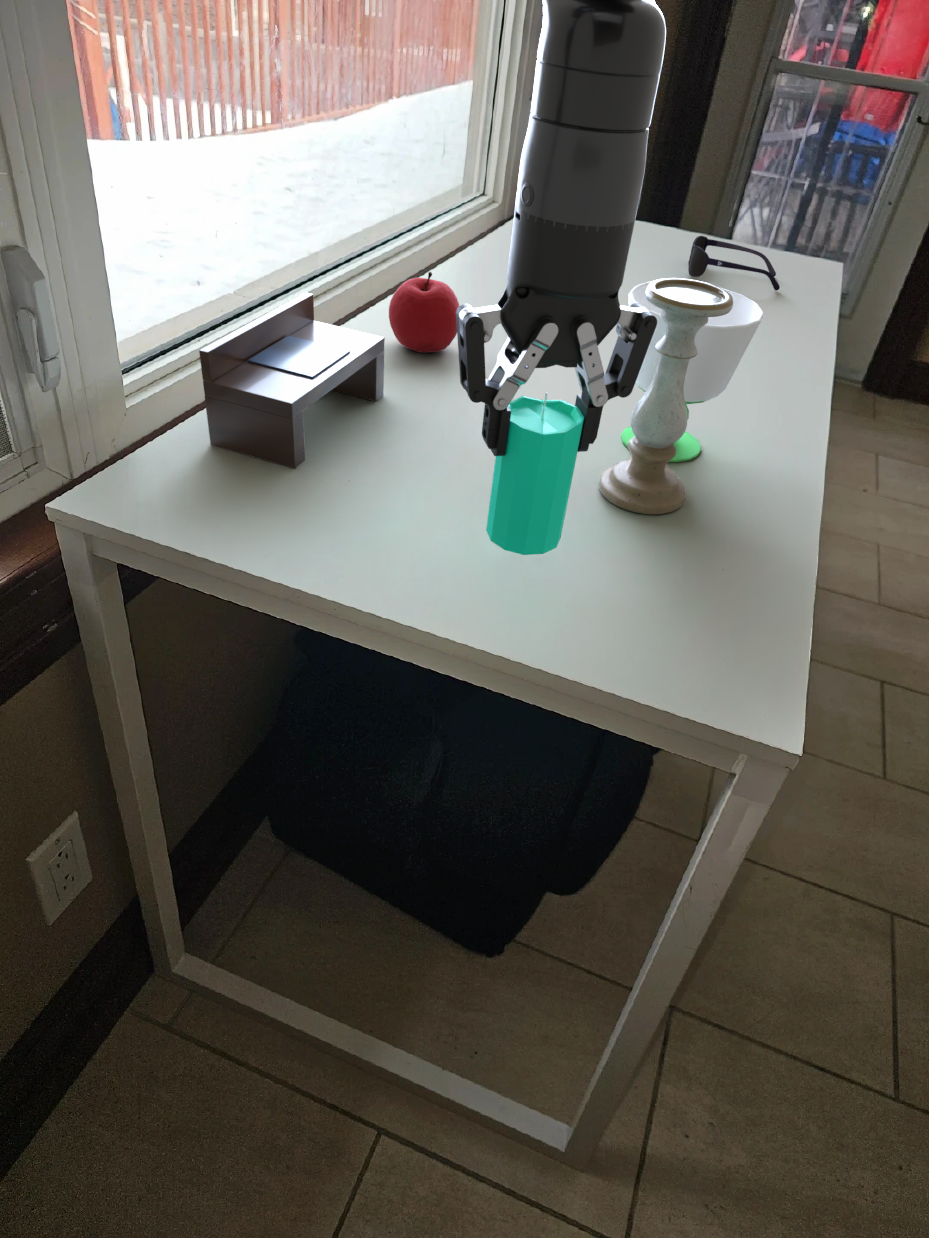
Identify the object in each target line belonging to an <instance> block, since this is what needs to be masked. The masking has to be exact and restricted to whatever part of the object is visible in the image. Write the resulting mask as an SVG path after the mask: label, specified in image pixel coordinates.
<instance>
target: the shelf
mask: <svg viewBox="0 0 929 1238" xmlns="http://www.w3.org/2000/svg"><path fill="white" fill-rule="evenodd" d="M314 301H315V300H314V294H313V293H309V292H304V293H302V294H301V295H299V296H297V297H295V298H293V299H291V300H290V301H287V302H286V303H284V304H281V305H280V306H278V307H276V308H274V309H273V310H271V311H269V312H267V313H265V314H263V315H262V316H260V317H258V318H256V319H254V320H253V321H251V322H249V323H246V324H245V325H243V326H241V327H239V328H237V329H236V330H234V331H232V332H231V333H228V334H227V335H225V336H223V337H221V338H220V339H217V340H215V341H214V342H212V343H210V344H208V345H206V346H204V347H202V348H201V349H199V351H198V353H199V363H200V368H201V375H202V376H201V377H202V386H203V394H204V401H205V402H204V403H205V410H206V411H205V413H206V419H207V427H208V436H209V443H210V445H211V446H214V447H218V448H221V449H225V450H229V451H232V452H235V453H239V454H242V455H245V456H249V457H252V458H257V459H260V460H263V461H266V462H270V463H274V464H277V465H280V466H284V467H288V468H290V469H297V468H298V467H299V466H301V465H302V464H303V463H304V462H306V445H305V443H306V442H305V422H304V421H305V420H304V411H305V410H307V409H308V408H310V407H311V406H312V405H314V404H315V403H316V402H317V401H319V400H320V399H321V398H323V397H324V396H326V395H327V394H329V392H331V391H334V392H337V393H341V394H345V395H348V396H349V395H350V396H352V397H357V398H360V399H364V400H368V401H372V402H378V401H379V400H380V399H381V398H382V397H384V389H385V387H384V386H385V385H384V384H385V383H384V382H385V337H384V336H381V335H376V334H372V333H368V332H363V331H360V330H355V329H351V328H347V327H342V326H338V325H334V324H330V323H326V322H321V321H318V320H315V307H314V305H315V304H314Z"/></svg>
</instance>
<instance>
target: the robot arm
mask: <svg viewBox="0 0 929 1238" xmlns="http://www.w3.org/2000/svg"><path fill="white" fill-rule="evenodd" d="M542 5H543V6H542V15H543V16H542V28H541V32H540V37H539V42H538V48H537V55H536V58H537V60H536V63H535V72H534V81H533V90H532V97H531V106H530V114H529V119H528V126H527V130H526V135H525V138H524V141H523V146H522V151H521V155H520V162H519V170H518V178H517V186H516V187H517V188H516V193H515V194H516V196H515V203H514V213H513V220H512V227H511V238H510V244H509V245H510V246H509V254H508V263H507V271H506V272H507V273H506V285H505V288H504V291H503V293H502V295H501V296H500V298H499V299H498V301H497V303H496V304H494V305H486V306H480V307H473V306H472V305H471V304H469V303H462V304H459V307H458V308H457V311H456V321H457V334H456V338H457V350H458V351H457V352H458V353H457V354H458V366H459V367H458V368H459V382H460V385H461V387H462V388H463V389H464V390H465V392H466V393H467V396H468V398H469V400H470V401H471V402H472V403H475V404H478V403H483V404H484V409H483V417H482V427H481V436H482V437H481V438H482V440H483V441H484V443H485V445H486V446H487V448H488V450H490V451H491V453H492V454H493V456H494V457H496V456H505V454H506V447H507V439H508V432H509V425H510V417H511V410H510V408H509V407H508V406H509V404H510V402H512V401H513V400H514V397H515V396H516V394H517V392H518V390H519V389H520V387H521V386H522V385H525V384H527V382H528V381H529V379H530V378H531V376H532V374H533V373H534V371H535V370H536V369H547V368H551V367H554V366H560V367H564V368H574V371H575V373H576V378H577V381H578V384H579V388H580V391H581V394H576V396H575V397H576V398H575V402H574V405H575V406H577V407H578V408H579V410H580V411H581V413H582V414H583V416H584V422H583V427H582V432H581V437H580V442H579V447H578V452H577V453H580V452H584V453H585V452H588V450H589V447H590V445H593V444H594V443H595V441H596V440H597V438H598V432H599V428H600V423H601V420H602V419H601V418H602V414H603V409H604V406H605V405H606V404H607V402H608V401H610V400H612V399H614V398H617V397H619V398H623V399H624V398H627V397H629V396H630V395H631V394H632V393H633V390H634V387H635V385H636V384H635V382H636V380H637V377H638V374H639V371H640V369H641V366H642V363H643V361H644V358H645V355H646V353H647V350H648V347H649V345H650V342H651V339H652V337H653V334H654V331H655V329H656V326H657V319H656V317H655V316H654V315H652V314H651V313H650V312H649V311H648V310H646V309H645V308H644V307H643V306H642V305H641V304H639V303H634V304H632V305H631V306H630V307H628V306H627V305H622V304H620V301H619V291H620V289H621V287H622V286H623V282H624V278H625V272H626V268H627V263H628V259H629V252H630V248H631V243H632V238H633V232H634V227H635V224H636V223H635V222H636V217H637V214H638V213H637V212H638V209H639V206H640V204H641V200H642V188H643V184H644V179H645V171H646V165H647V164H646V163H647V149H648V139H649V133H650V132H649V131H650V129H649V127H650V126H651V123H652V118H653V113H654V108H655V107H654V106H655V102H656V98H657V92H658V87H659V82H660V77H661V73H662V67H663V61H664V55H665V47H666V37H667V27H666V20H665V17H664V15H663V12H662V11H661V9H660V8H659V6H658V5H657V4H656V1H655V0H542ZM500 324H501V327H502V328H503V329H504V331H505V334H506V335H507V338H506V340H505V342H504V344H503V345H502V347H501V349H500V351H499V352H498V354H497V357H496V363H495V366H494V368H493V369H492V371H491V372H490V374H489V376H488V378H486V377H487V375H486V354H485V351H486V350H485V343H489V342H490V341H491V339H492V338H493V333H494V330H495V328H496V327H497V326H498V325H500ZM615 327H616V328H615ZM614 328H615V333H616V334H617V338H616V342H615V345H614V347H613V350H612V353H611V355H610V358H609V362H608V364H607V368H606V371H604V366H603V362H602V358H601V354H600V349H599V347H598V346H599V345H600V344H601V343H602V342H603V340H604V339H605V338H606V337H607V336H608V335H609V334H610V332H611V331H612V330H613V329H614Z"/></svg>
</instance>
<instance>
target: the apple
mask: <svg viewBox="0 0 929 1238" xmlns="http://www.w3.org/2000/svg"><path fill="white" fill-rule="evenodd" d="M432 276H433V273H432V271H428V276H427V278H426V277H425V278H424V277H413V278H410V279H407V280H405V281H404V282H403V283H402V284H401V285H399V287H398V288H397V289H396V290H395V292H393V295H392V297H391V299H390V301H389V306H388V320H389V325H390V327H391V330H392V333H393V335H394V337H395V339H396V340H397V341H398V342H399V343H400V344H401V346H403V347H405V348H406V349H409V350H412V351H414V352H416V353H420V354H422V353H423V354H424V353H439V352H441V351H443V350H445V349H447V348H448V347H449V346H450V345H451V343H452V342H453V341H454V339H455V338H456V337H457V321H456V311H457V308H458V307H459V306H460V303H459V300H458V297H457V296H456V293H455V292H454V290H453V289H452V288H451V287H450V285H449V284H447V283H446V282H443V281H441V280H437V279H432V278H431V277H432Z"/></svg>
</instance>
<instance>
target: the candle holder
mask: <svg viewBox="0 0 929 1238" xmlns="http://www.w3.org/2000/svg"><path fill="white" fill-rule="evenodd" d="M652 281H653V282H651V283H650V284H649V285H648V287H647V289H646V293H645V296H646V299H647V300H648V301H649V302H650V303H651V304H653V305H654V306H656V307H658V308H660V309H662V311H661V317H662V319H663V320H664V322H665V326H666V331H665V334H664V336H663V337H662V338H661V340H660V341H659V342H658V343H657V344H656V345H655V348H656V350H657V351H658V352H659V359H658V363H657V367H656V371H655V374H654V377H653V380H652V382H651V384H650V386H649V388H648V389H647V391H646V392H644V393H643V395H642V396H641V397H640V398H639V400H638V401H637V403H636V404H635V406H634V407H633V409H632V411H631V414H630V419H629V423H630V425H629V426H631V429H632V431H633V433H634V435H635V437H633V438H631V439H630V440H629V442H628V447H627V449H628V451H629V452H630V456H631V458H629V459H627V458H626V459H624V460H621V461H619V462H617V463H616V464H615V465H611V466H609V467H607V468H606V469H604V470H603V471H602V472H601V474H600V478H599V483H598V488H599V491H600V493H601V495H602V496H603V497H604V498H605V499H606V500H607V501H608V502H610V503H611V504H613V505H615V506H616V507H619V508H621V509H623V510H627V511H629V512H632V513H633V512H634V513H637V514H643V515H664V514H669V513H671V512H674V511H677V510H678V509H679V508H681V507H682V505H683V504H684V501H685V499H686V496H687V489H686V487H685V485H684V483H683V481H681V479H680V478H679V477H678V475H677V473H676V472H675V471H674V470H673V469H672V468H670V467H669V466H667V464H668V463H670V462H669V461H670V460H671V459H672V458H674V457H675V455H676V447H675V446H674V444H673V443H675V442H676V441H678V440H679V439H680V438H681V437H682V436H683V434H684V432H686V430H687V427H688V421H687V409H686V405H687V404H685V399H684V381H685V376H686V372H687V367H688V364H689V361H690V358H694V357H695V356H696V355H697V348H696V345H695V342H694V339H695V335H696V333H697V332H698V330H699V329H700V328H702V327H703V326H705V325H706V324H707V322H708V319H709V317H718V316H722V315H725V314H727V313H729V312H730V311H731V309H732V307H733V298H732V296H731V294H730V293H729V292H727V291H726V290H724V289H725V288H724V289H722V288H723V287H721V286H718V285H715V284H712V283H709V282H705V281H700V280H696V279H692V278H691V279H690V278H681V277H680V278H679V277H667V278H659V279H654V280H652ZM720 287H721V288H720Z"/></svg>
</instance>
